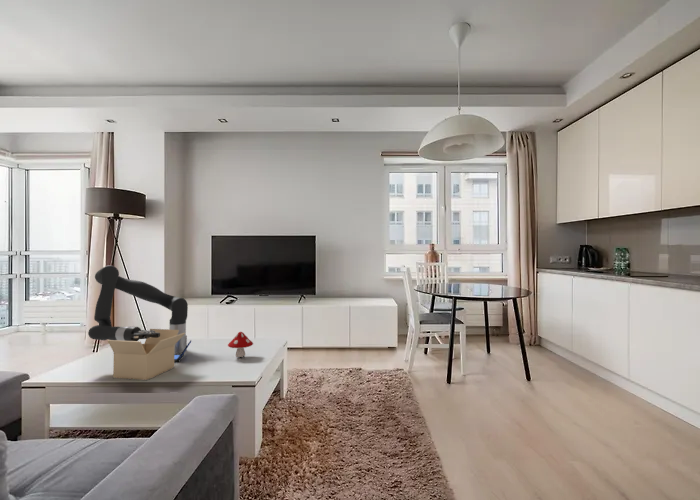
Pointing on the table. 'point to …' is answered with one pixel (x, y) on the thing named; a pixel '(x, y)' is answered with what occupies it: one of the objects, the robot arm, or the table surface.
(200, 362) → the table surface
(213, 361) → the table surface
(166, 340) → the near flap
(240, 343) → the decorative mushroom
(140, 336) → the robot arm
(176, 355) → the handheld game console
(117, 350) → the carton
